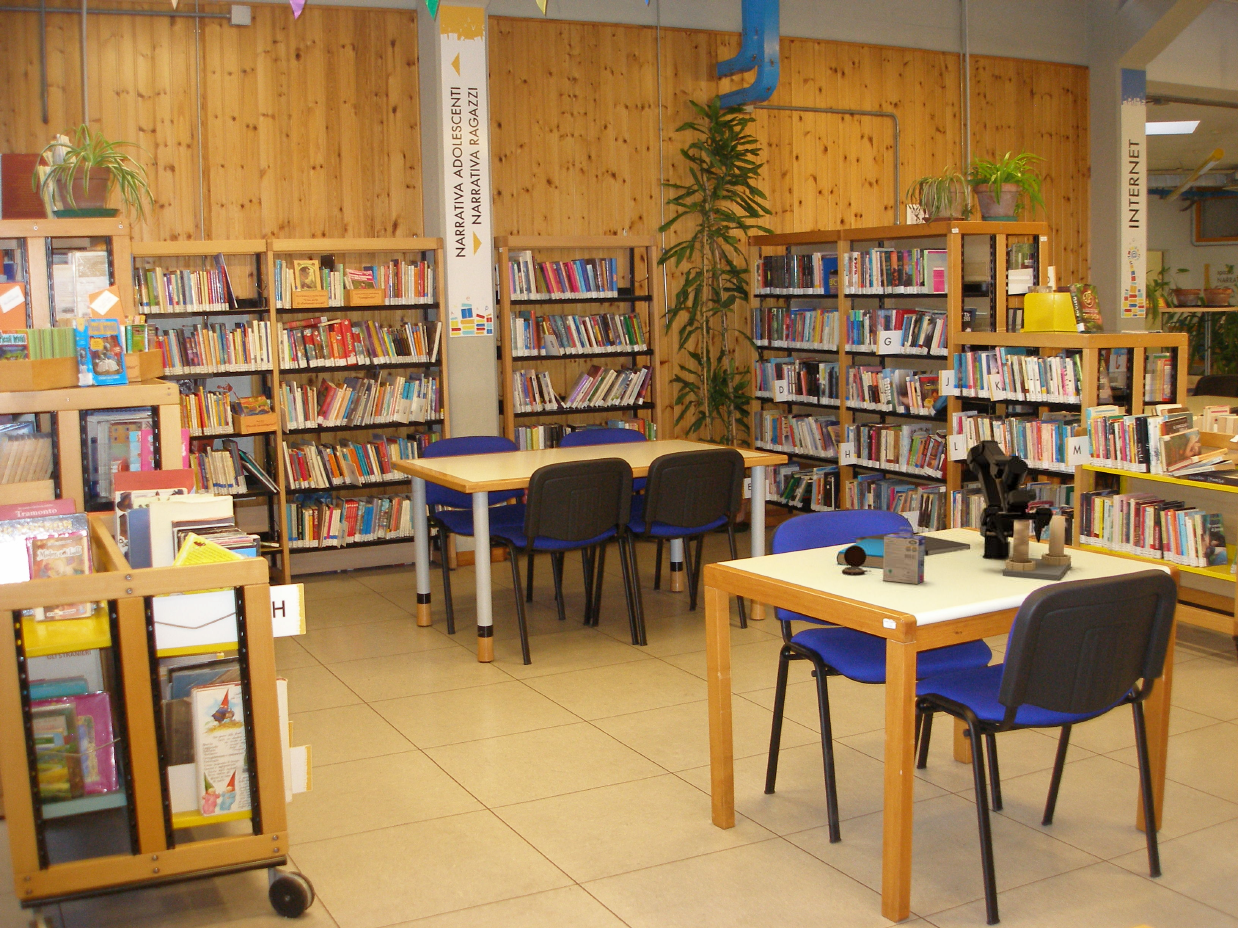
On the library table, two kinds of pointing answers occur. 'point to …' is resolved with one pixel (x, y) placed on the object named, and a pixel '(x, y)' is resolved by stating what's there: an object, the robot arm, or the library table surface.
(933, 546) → the notebook
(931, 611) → the library table surface
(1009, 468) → the robot arm
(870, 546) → the book
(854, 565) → the compass
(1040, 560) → the board
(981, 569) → the library table surface
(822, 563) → the library table surface
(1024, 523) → the pin
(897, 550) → the ink cartridge box
